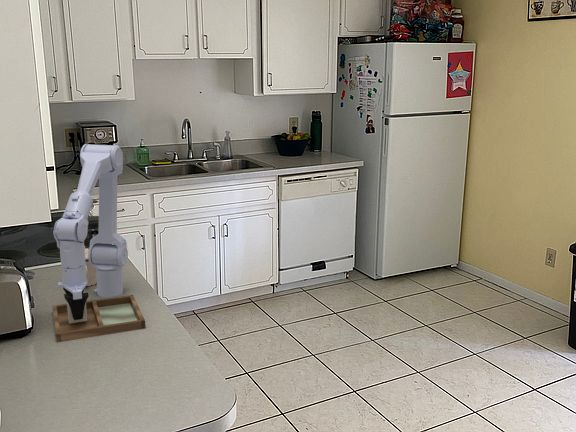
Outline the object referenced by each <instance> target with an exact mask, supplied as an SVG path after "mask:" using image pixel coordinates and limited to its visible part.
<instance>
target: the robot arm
mask: <svg viewBox="0 0 576 432" xmlns="http://www.w3.org/2000/svg"><path fill="white" fill-rule="evenodd" d="M123 154H124V153H123V151H122V149H121V147H120V146H119V145H117V144H114V145H113V144H112V145H111V144H109V145H108V144H89V143H84V144H83V145H82V147H81V149H80V153H79V158H80V164H81V167H82V169H81V173H80V177H79V179H78V185H77V189H76V191H75V192H71V194H70V196H69V198H68V200H67V203H66V206H65V209H64V211H63V214H62V216H61V217H60V218H59V219H58V220H56V221H55V223H54V226H53V237H54V239H55V241H56V247H57V249H59V254H60V255H59V256H60V266H61V267H60V268H61V277H62V281H58V282H57V288H62V289H63V291H64V293H65V294H64V295H63V296H64V299H65V301H67V302H68V304H69V306H70V309H71V313H72V316H73V319H74V320H79V319H83V314H84V307H85V303H86V301H88V298H89V292H85V288H87V287H86V285H87V284H88V281H87V278H86V264H85V250H84V246H85V242H84V240H85V239H86V238H87V236H88V235H87V233H88V231H89V229H88V220H87V219H88V216H90V213H91V207H92V204H93V205H94V203H93V200H94V199H93V198H92V193H93V191H94V189H95V187H96V184H97V183H98V216H99V229H98V230H99V234H95V235H94V237H93V238H92V239H91V240H90V247H88V248H89V251H88V260H89V262H90V263H91V264H92V265H93V268H96V279H97V283H96V288H94V290H93V292H95V293H97V296H98V297H101V298H114V297H120V296H121V295H122V294H123V293H124V282H123V280H124V279H123V267H124V266H125V265H126V264H127V262H128V259H129V258H128V257H129V251H128V246H127V243H128V242H127V240H126V239H125V238H124V237H123V236H122V235H120V234H119V233H118V231H117V229H118V227H117V226H118V225H117V224H118V221H117V220H118V176H119V175H122V174H123V169H124V155H123ZM92 208H93V207H92ZM67 302H66V303H67Z"/></svg>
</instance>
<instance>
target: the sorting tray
mask: <svg viewBox="0 0 576 432" xmlns="http://www.w3.org/2000/svg"><path fill="white" fill-rule="evenodd" d="M51 307H52V315H53V323H54V331H55V338H56V340H55V341H56V343H60V342H66V341H73V340H79V339H86V338H93V337H97V336H98V337H100V336H104V335H105V336H106V335H111V334H117V333H118V334H119V333H124V332H125V333H126V332H130V331H137V330H143V329H147V327H146V320H145V318H144V316H143V313H142V311H141V309H140V307H139V305H138V302H137V300H136V298H135V297H134V294H129V295H123V296H121V295H120V296H115V297H105V298H100V299H92V300H86V309H87V321H83V322H76V323H69V321H68V314H67V303H63V304H56V305H55V304H54V305H51Z"/></svg>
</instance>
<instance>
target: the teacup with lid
mask: <svg viewBox="0 0 576 432" xmlns="http://www.w3.org/2000/svg"><path fill="white" fill-rule="evenodd" d="M87 248H88V247H86V246H85V245H84V250H85V264H86V278H87V281H88V284H87V285H86V286H88V287H92V286H94V285H97V279H96V268H93V265H92V264H91V263H90V262H89V260H88V251H89V249H87ZM91 285H92V286H91Z"/></svg>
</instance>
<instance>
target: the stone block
mask: <svg viewBox="0 0 576 432" xmlns="http://www.w3.org/2000/svg"><path fill="white" fill-rule="evenodd" d="M65 301H66V300H65ZM66 304H67V314H68V321H69V323H76V322H83V321H87V309H86V303H85V307H84V314H83V319H79V320H74V319H73V316H72V313H71V309H70V306H69V304H68V302H67V301H66Z"/></svg>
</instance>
